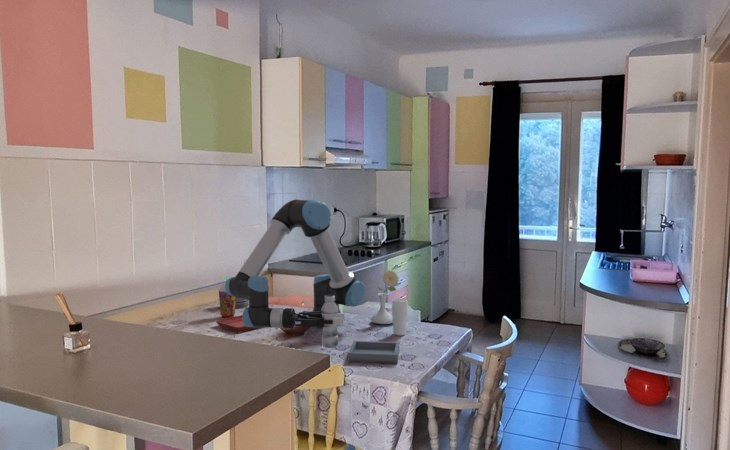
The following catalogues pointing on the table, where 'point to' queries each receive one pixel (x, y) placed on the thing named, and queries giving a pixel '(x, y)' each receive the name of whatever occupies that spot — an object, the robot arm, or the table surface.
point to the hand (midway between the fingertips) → (343, 319)
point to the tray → (374, 352)
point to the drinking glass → (399, 316)
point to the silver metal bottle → (330, 331)
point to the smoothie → (226, 302)
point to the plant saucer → (234, 324)
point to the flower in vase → (382, 315)
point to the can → (241, 303)
